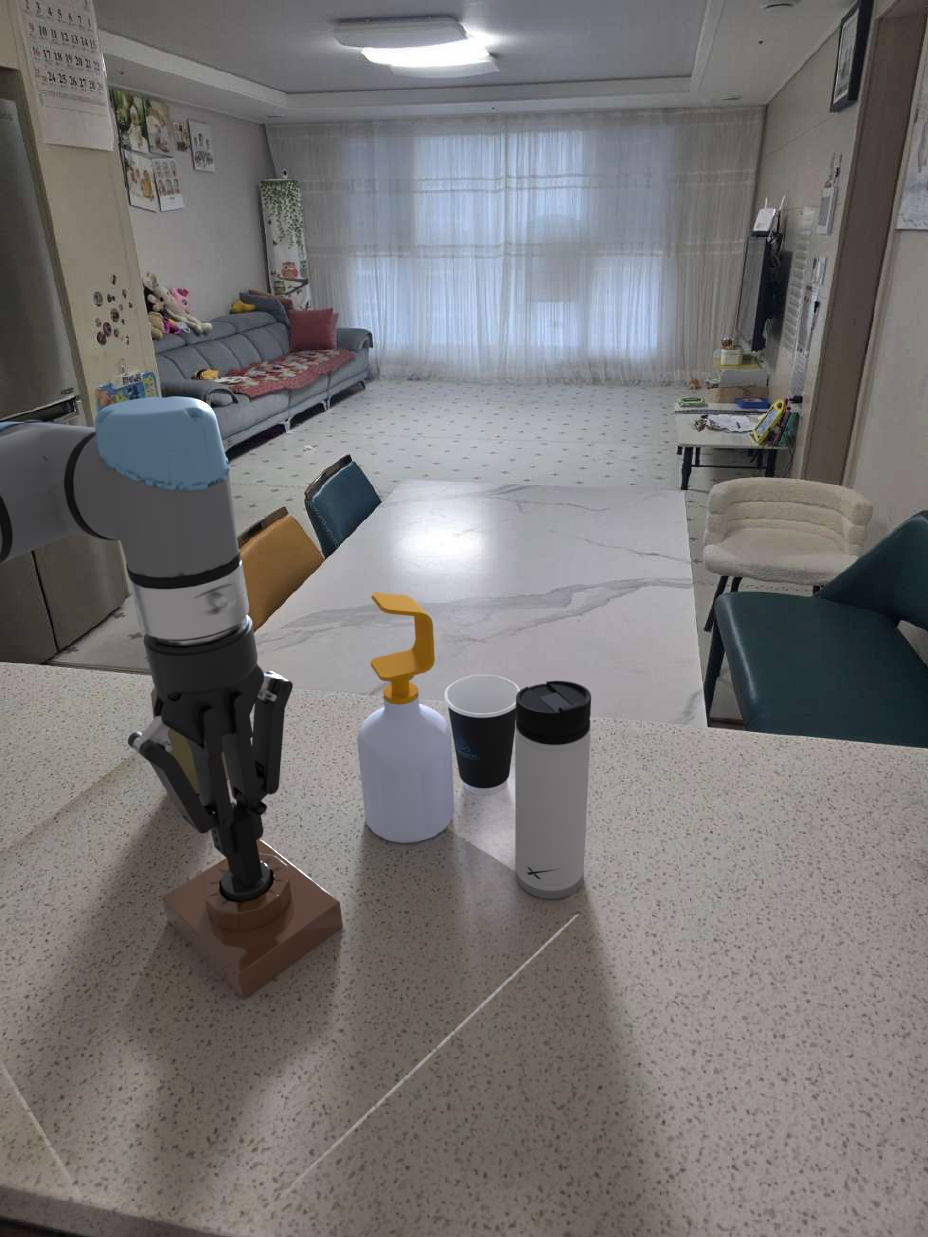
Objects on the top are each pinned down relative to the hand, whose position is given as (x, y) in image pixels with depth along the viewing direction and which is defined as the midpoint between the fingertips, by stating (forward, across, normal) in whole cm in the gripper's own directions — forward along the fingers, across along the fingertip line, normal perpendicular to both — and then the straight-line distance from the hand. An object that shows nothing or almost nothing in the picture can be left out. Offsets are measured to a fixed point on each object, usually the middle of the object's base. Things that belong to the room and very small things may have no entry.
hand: (246, 874), depth 69 cm
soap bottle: (+6, +19, +1) cm, 20 cm away
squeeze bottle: (+6, +8, +22) cm, 24 cm away
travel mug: (+6, +22, -15) cm, 27 cm away
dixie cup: (+6, +28, -1) cm, 29 cm away
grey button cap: (+2, 0, 0) cm, 2 cm away
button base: (+6, 0, 0) cm, 6 cm away
